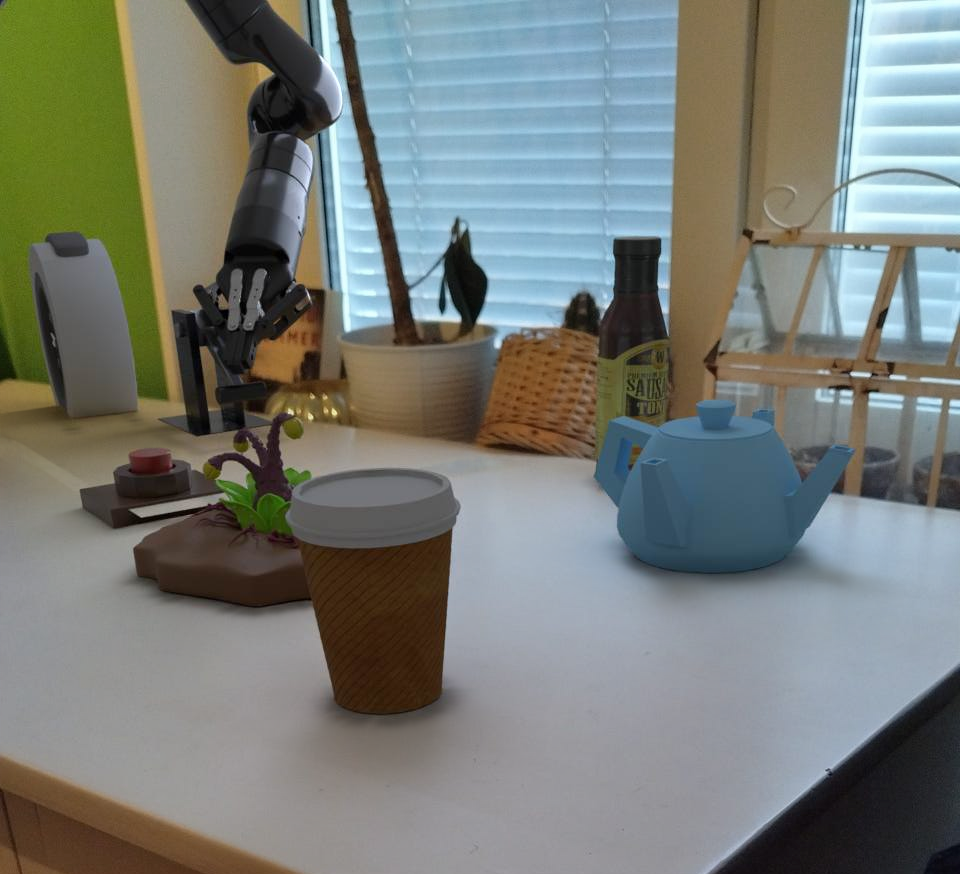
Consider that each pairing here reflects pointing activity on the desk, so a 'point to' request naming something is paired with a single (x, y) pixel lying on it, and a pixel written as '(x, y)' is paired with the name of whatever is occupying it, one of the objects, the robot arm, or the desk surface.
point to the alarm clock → (82, 326)
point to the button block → (146, 494)
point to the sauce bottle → (632, 343)
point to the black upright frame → (203, 385)
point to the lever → (225, 366)
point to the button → (150, 460)
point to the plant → (236, 532)
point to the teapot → (712, 489)
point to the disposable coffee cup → (378, 581)
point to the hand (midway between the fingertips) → (236, 369)
